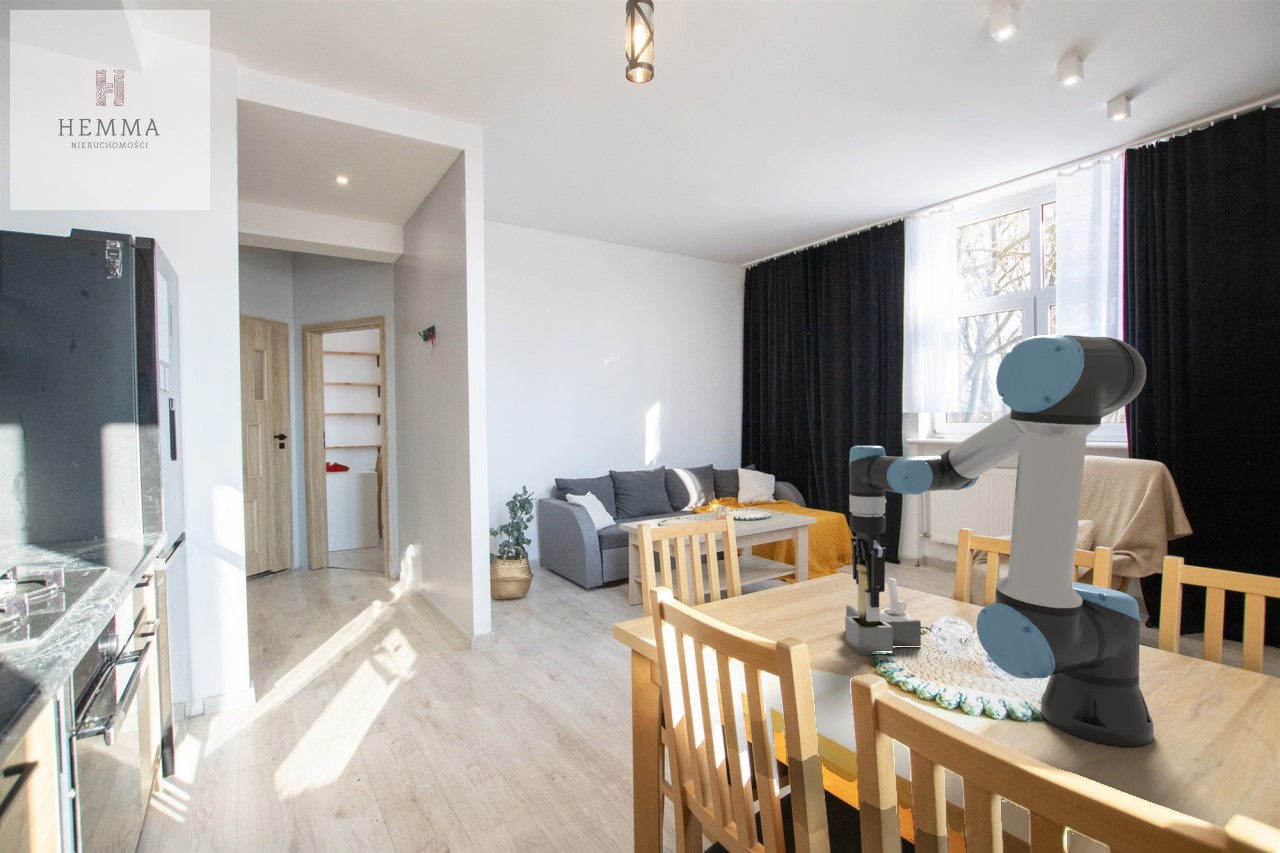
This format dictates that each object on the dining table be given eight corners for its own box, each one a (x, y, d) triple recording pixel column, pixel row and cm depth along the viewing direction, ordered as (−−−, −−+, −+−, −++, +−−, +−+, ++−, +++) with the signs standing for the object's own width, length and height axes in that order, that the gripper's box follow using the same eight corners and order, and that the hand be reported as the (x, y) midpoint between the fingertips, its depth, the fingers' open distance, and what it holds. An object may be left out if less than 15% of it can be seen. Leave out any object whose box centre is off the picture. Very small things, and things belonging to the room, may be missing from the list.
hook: (892, 589, 164) (908, 579, 158) (901, 633, 157) (918, 625, 151) (868, 584, 162) (883, 575, 157) (876, 629, 155) (892, 621, 150)
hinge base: (928, 653, 132) (928, 626, 132) (858, 655, 131) (858, 628, 131) (895, 628, 147) (895, 604, 147) (833, 630, 147) (832, 605, 147)
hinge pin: (883, 635, 133) (883, 567, 133) (862, 635, 133) (861, 568, 132) (874, 627, 138) (873, 562, 137) (853, 628, 137) (853, 563, 137)
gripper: (901, 519, 126) (902, 630, 127) (868, 508, 143) (868, 605, 144) (866, 520, 126) (867, 630, 126) (837, 508, 143) (838, 606, 143)
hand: (868, 617), depth 135 cm, fingers closed on hinge pin, 4 cm apart
